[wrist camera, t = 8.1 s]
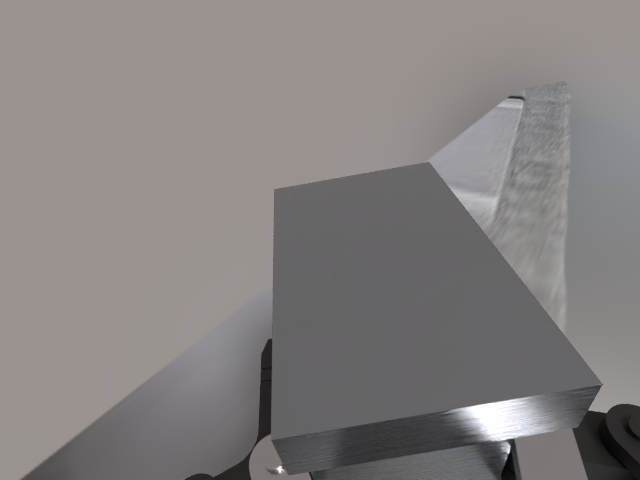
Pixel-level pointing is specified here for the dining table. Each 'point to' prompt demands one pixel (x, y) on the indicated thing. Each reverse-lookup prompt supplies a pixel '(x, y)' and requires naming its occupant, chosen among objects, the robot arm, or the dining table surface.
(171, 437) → the dining table surface
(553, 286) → the dining table surface
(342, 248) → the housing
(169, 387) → the dining table surface
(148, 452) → the dining table surface
